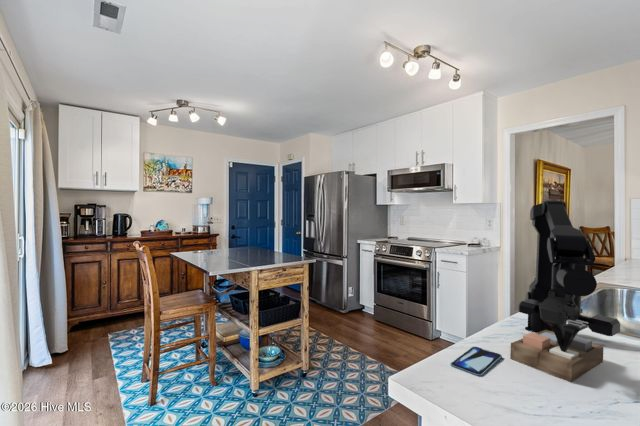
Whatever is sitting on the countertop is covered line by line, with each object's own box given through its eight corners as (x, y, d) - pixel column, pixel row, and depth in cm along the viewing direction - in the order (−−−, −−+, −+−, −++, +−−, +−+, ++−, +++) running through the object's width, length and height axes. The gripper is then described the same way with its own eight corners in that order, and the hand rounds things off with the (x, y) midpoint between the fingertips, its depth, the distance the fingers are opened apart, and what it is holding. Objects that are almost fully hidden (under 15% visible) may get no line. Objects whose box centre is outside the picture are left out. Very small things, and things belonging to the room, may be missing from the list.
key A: (548, 362, 78) (549, 349, 78) (557, 357, 80) (557, 345, 80) (570, 369, 74) (571, 356, 74) (578, 365, 77) (578, 352, 77)
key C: (537, 346, 87) (537, 335, 87) (545, 342, 90) (545, 332, 90) (556, 352, 84) (556, 341, 84) (563, 348, 86) (563, 337, 86)
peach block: (522, 347, 83) (523, 335, 83) (531, 343, 85) (531, 332, 85) (541, 353, 79) (542, 341, 79) (549, 349, 82) (550, 338, 82)
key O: (563, 349, 82) (564, 337, 82) (570, 345, 85) (571, 334, 85) (584, 356, 79) (585, 343, 79) (591, 352, 81) (592, 340, 81)
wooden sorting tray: (510, 358, 82) (510, 343, 82) (545, 343, 93) (545, 329, 93) (571, 382, 71) (571, 364, 71) (603, 362, 82) (603, 346, 82)
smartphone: (448, 364, 78) (473, 345, 88) (448, 367, 78) (473, 349, 88) (480, 376, 73) (503, 355, 83) (480, 380, 73) (503, 358, 83)
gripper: (508, 281, 81) (506, 343, 81) (603, 300, 65) (600, 377, 65) (530, 277, 87) (528, 335, 87) (622, 294, 71) (619, 364, 71)
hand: (563, 351), depth 77 cm, fingers closed, pressing on key A
